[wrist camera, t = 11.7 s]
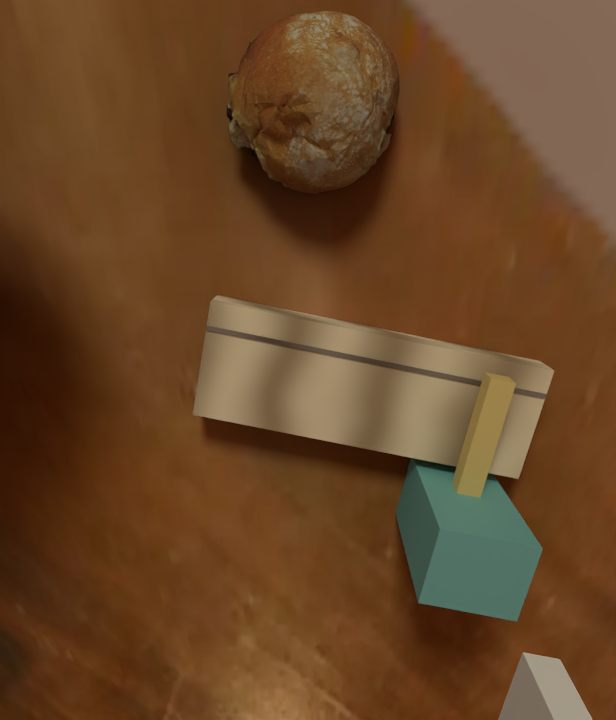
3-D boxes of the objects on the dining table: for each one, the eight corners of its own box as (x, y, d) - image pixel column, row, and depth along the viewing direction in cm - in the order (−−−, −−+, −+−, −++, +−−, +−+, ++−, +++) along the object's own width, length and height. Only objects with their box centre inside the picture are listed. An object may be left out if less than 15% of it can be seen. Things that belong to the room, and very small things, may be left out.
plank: (200, 402, 40) (192, 415, 38) (217, 295, 38) (210, 300, 36) (506, 463, 41) (518, 479, 38) (539, 360, 39) (554, 371, 36)
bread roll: (347, 202, 40) (409, 208, 33) (208, 177, 35) (246, 178, 29) (372, 52, 37) (445, 24, 30) (226, 5, 33) (272, -39, 26)
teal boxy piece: (395, 513, 42) (418, 602, 32) (439, 352, 39) (479, 397, 29) (471, 528, 42) (517, 621, 33) (522, 368, 39) (588, 419, 29)
